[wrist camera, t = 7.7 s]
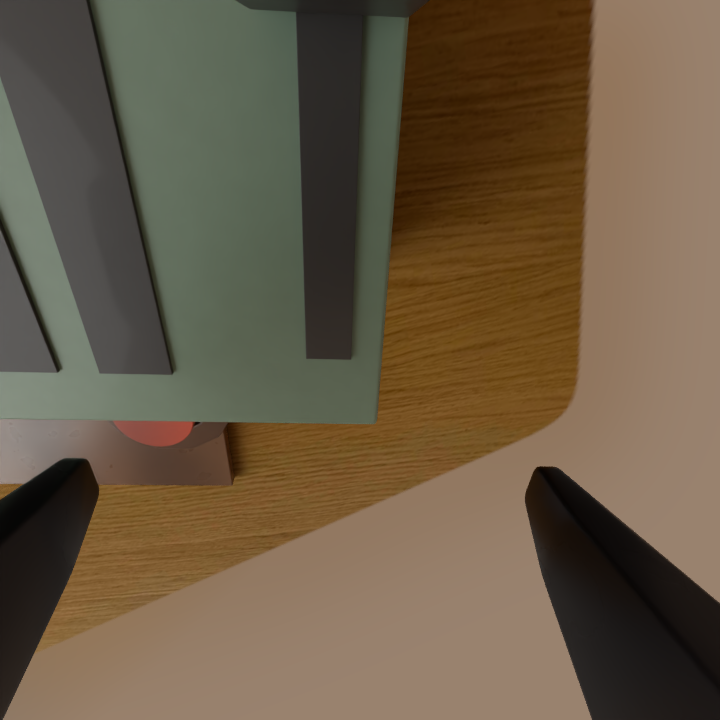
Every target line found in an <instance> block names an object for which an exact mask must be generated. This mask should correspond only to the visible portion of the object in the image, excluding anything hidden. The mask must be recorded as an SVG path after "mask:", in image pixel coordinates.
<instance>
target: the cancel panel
mask: <svg viewBox="0 0 720 720" xmlns="http://www.w3.org/2000/svg"><path fill="white" fill-rule="evenodd" d="M227 424H228V422H195V424H194V426H193V429H192V431H191V433H190V434H189V436H188V437H187V438H185V439H184V440H183V441H181V442H179V443H177V444H174V445H170V446H151V445H146V444H143V443H140V442H137V441H135V440H133V439H131V438H129V437H128V436H126V435H125V434H124V433H123V432H121V431H120V430H119V429H118V427H117V426H116V425H115V423H114V422H113V421H110V420H36V419H0V484H25V483H26V482H28V481H29V480H31V479H32V478H34V477H35V476H37V475H38V474H40V473H41V472H43V471H44V470H46V469H47V468H49V467H50V466H52V465H53V464H55V463H56V462H58V461H60V460H61V459H64V458H84V459H87V460H88V461H89V463H90V465H91V468H92V470H93V473H94V475H95V478H96V481H97V483H98V484H103V485H233V481H234V477H235V476H234V470H233V464H232V458H231V451H230V445H229V439H228V433H227V427H226V426H227Z"/></svg>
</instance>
